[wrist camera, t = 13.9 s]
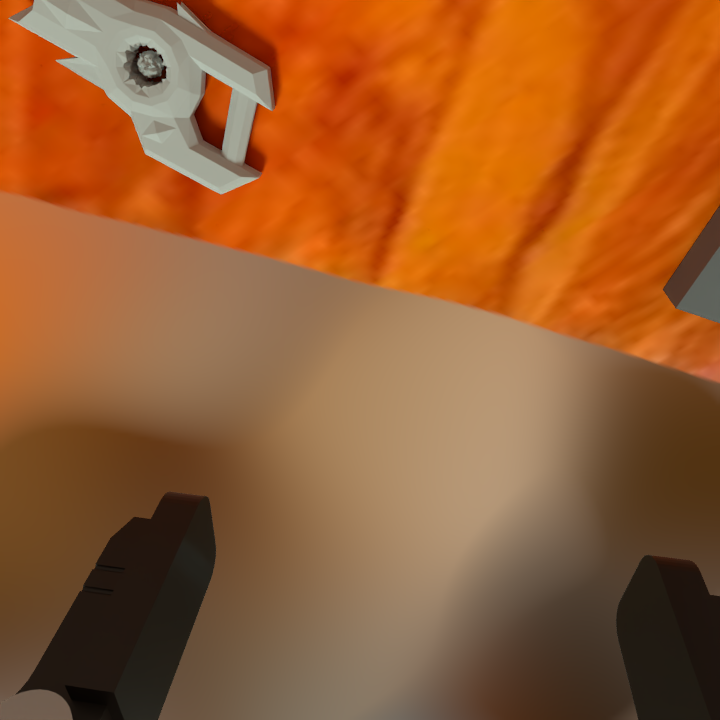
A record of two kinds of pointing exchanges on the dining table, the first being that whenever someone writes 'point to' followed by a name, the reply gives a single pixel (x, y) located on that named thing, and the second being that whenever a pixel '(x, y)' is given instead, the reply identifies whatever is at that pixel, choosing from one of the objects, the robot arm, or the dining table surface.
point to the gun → (171, 95)
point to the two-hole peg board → (699, 275)
